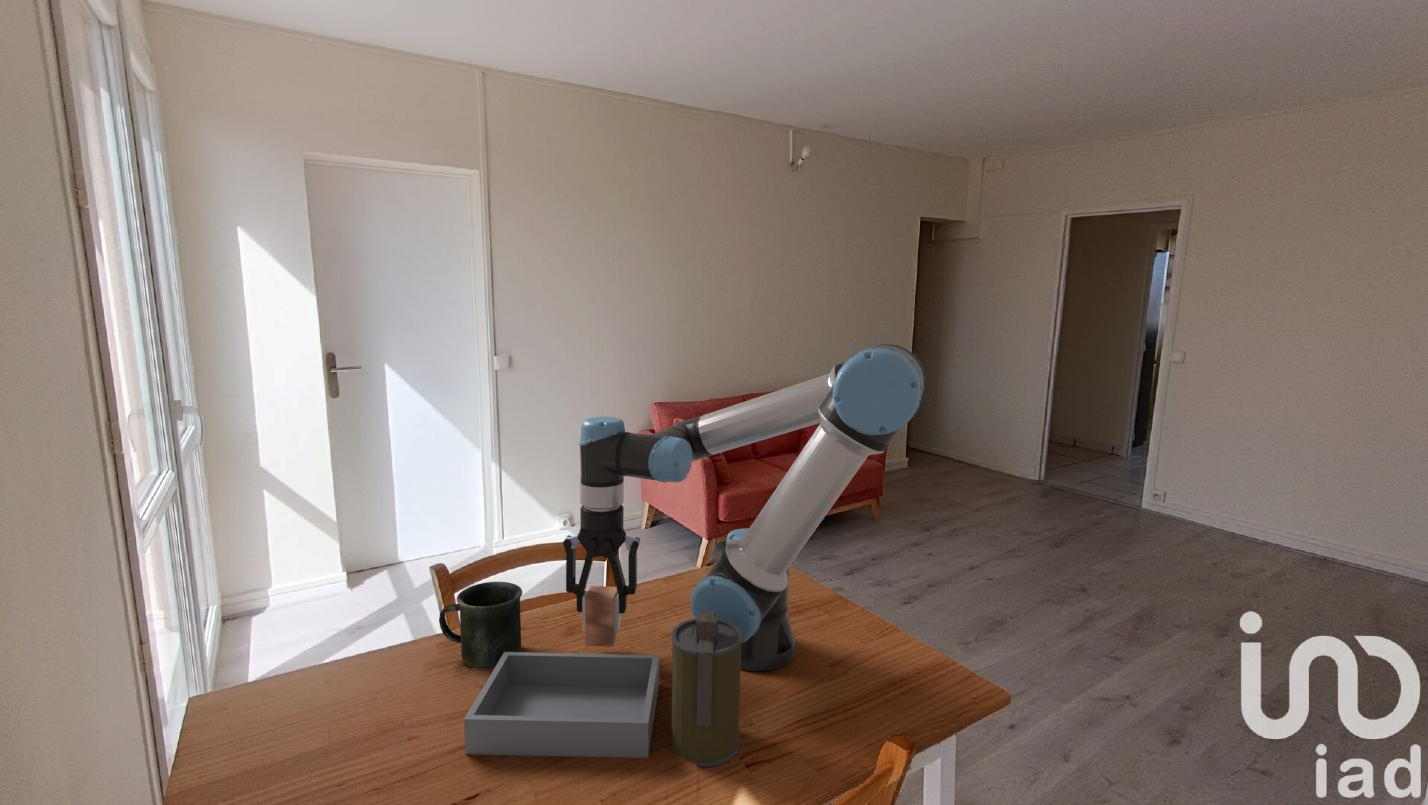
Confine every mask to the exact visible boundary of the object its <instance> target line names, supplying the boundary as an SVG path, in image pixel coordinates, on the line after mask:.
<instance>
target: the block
mask: <svg viewBox="0 0 1428 805" xmlns="http://www.w3.org/2000/svg"><path fill="white" fill-rule="evenodd" d="M587 591H588V593H587V595H586V598H585V632H584V636H585V638H584V639H585V640H584V641H585V643H584V645H585V647H586V646H587V647H614V645H615V642H616V639H617V636H618V635H617V634H618V633H615V632H614V604H615V596H616V593H617V592H618V591H617V587H616V586H603V585H601V586H600V585H599V586H597V585H592V586H591V585H590V586H589V589H588V590H587Z"/></svg>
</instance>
